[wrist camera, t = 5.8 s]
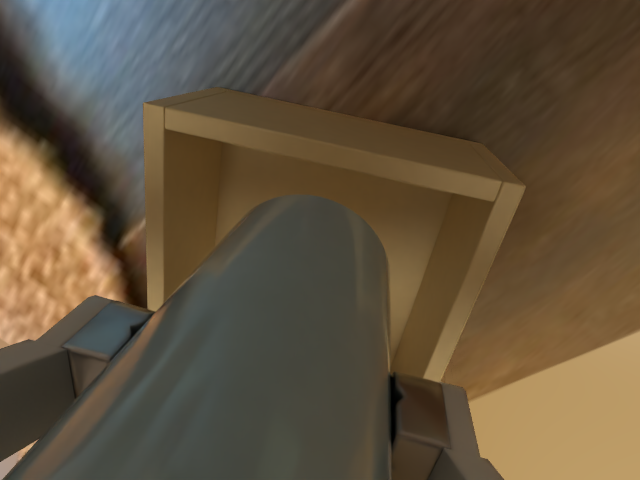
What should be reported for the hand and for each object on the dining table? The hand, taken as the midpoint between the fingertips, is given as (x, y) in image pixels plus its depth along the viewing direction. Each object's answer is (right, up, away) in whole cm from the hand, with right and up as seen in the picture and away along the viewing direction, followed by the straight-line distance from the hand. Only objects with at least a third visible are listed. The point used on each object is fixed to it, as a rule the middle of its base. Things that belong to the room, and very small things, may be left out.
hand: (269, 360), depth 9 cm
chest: (+1, +2, +14) cm, 14 cm away
